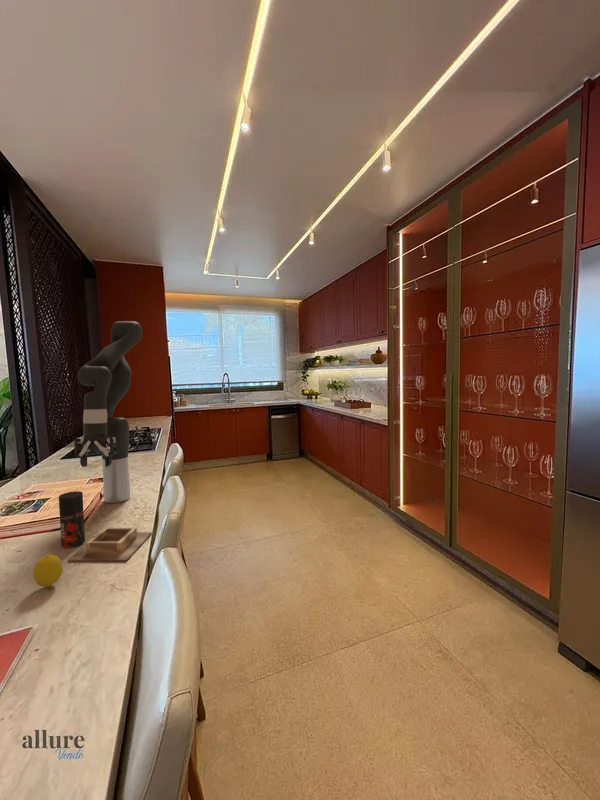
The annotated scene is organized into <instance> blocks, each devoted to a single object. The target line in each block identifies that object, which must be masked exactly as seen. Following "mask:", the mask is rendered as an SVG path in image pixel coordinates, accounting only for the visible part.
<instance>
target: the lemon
mask: <svg viewBox="0 0 600 800" xmlns="http://www.w3.org/2000/svg"><path fill="white" fill-rule="evenodd" d="M62 573H63V564H62V561H61V559H60V558H59V556H57V555H54V554H49V553H48V554H45V555H44V556H42V557H41V558H40V559H38V561H37V562H36V564H35V565H34V569H33V579H34V581H35V583H36V584H37V585H38V586H40V587H46V588H50V587H52V585H54V584H55V583H57V582H58V581H59V580H60V578H61V577H62Z"/></svg>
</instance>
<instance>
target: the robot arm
mask: <svg viewBox="0 0 600 800" xmlns="http://www.w3.org/2000/svg"><path fill="white" fill-rule="evenodd" d="M142 338H143V328H142V326H141V324H140V323H139V322H138V321H133V320H132V321H131V320H130V321H128V320H125V321H124V320H123V321H122V320H121V321H120V320H118V321H115V322H113V324H112V326H111V329H110V343H109V344H108V345H106V346H105V347H103V349H102V350H100V352H98V354H97V355H96V356H95V358H93V359H91V360H90V361H88V362H86V363H85V364H84V365H82V366H81V367H80V369H78V372H77V380H78V382H79V383H80V384H81V385H83V386H86V387H95V389H94V390H93V391H92V392H91V391H90V392H86V393H85V394H84V396H83V414H82V422H83V423H82V427H83V429H82V432H83V437H81V436H80V437H77V438H75V439H74V447H73V452H74V453H73V454H74V455H77V456H79V462H80V463H79V465H80V466H81V467H82V468H85V467H87V466H88V456H87V454H88V453H89V452H91V451H94V450H95V451H99V450H100V452H101V462H102V465H101V466H102V483H103V502H104V503H106V504H117V503H122V502H126V501H127V500H129V499H130V498H131V485H130V484H131V483H130V465H129V450H130V424H129V421H128V420H127V418H125V417H117V416H116V417H114V412H115V410H116V408H117V406H118V404H119V403H120V401H121V400H122V399H124V397H125V396H126V394H127V393H128V392H129V390H130V387H131V382H132V375H133V374H132V373H133V372H132V369H131V367H130V365H129V363H128V362H127V360H126V358H125V354H127V353H128V352H129V351H131V350H132V349H133V347H135V346H136V345H137V344H138V343H140V341H141V340H142ZM107 443H108V444H109V446H108V444H107ZM83 444H84V446H83Z"/></svg>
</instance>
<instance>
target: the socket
mask: <svg viewBox="0 0 600 800" xmlns="http://www.w3.org/2000/svg"><path fill="white" fill-rule="evenodd" d="M152 535H153V533H152V532H151V531H149V532H146V531H145V532H144V531H141V532H140V531H139V532H138V529H137V527H104V528H103V529H102V530H101V531H99V532H97V534H96V535H94V536H92V538H90V540H88V541H87V542H86V543H85V545H83V547H81V548H80V549H78V550H77V551H76V552H74V554H73V555H72V556H70V557H69V558H67V562H68V563H69V562H71V563H73V562H74V563H76V562H77V563H79V562H81V563H82V562H83V563H85V562H86V563H88V562H89V563H90V562H91V563H92V562H93V563H94V562H95V563H105V562H107V563H110V562H111V563H117V562H118V563H124V562H125V563H127V562H128V560H130V559H131V557H132V556H134V554H135V553H136V552H137V551H138V550H139V549H140V548H141V547H142V545H144V543H145V542H146V541H148V539H150V537H151V536H152Z"/></svg>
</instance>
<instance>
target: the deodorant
mask: <svg viewBox="0 0 600 800" xmlns="http://www.w3.org/2000/svg"><path fill="white" fill-rule="evenodd" d="M83 497H84V496H83V492H82V491H79V490H77V491H76V490H74V491H69V492H65V493H61V494H60V495H59V496H58V509H59V525H60V543H61V544H60V545H61V548H63V549H73V548H77V547H80V546H82V545H83V544H85V542H86V534H85V533H86V531H85V514H84V498H83Z"/></svg>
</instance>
